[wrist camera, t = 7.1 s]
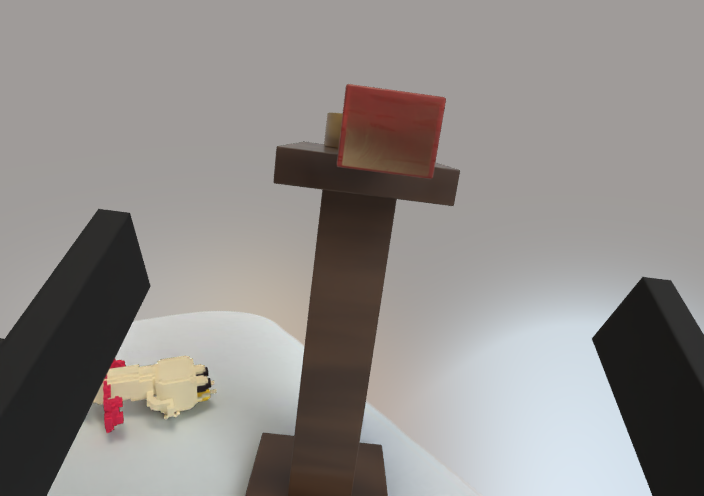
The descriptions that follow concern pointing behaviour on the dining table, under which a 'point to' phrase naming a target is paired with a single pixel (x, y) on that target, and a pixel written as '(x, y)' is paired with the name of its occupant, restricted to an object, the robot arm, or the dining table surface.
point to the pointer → (387, 131)
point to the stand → (340, 325)
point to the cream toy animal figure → (154, 387)
